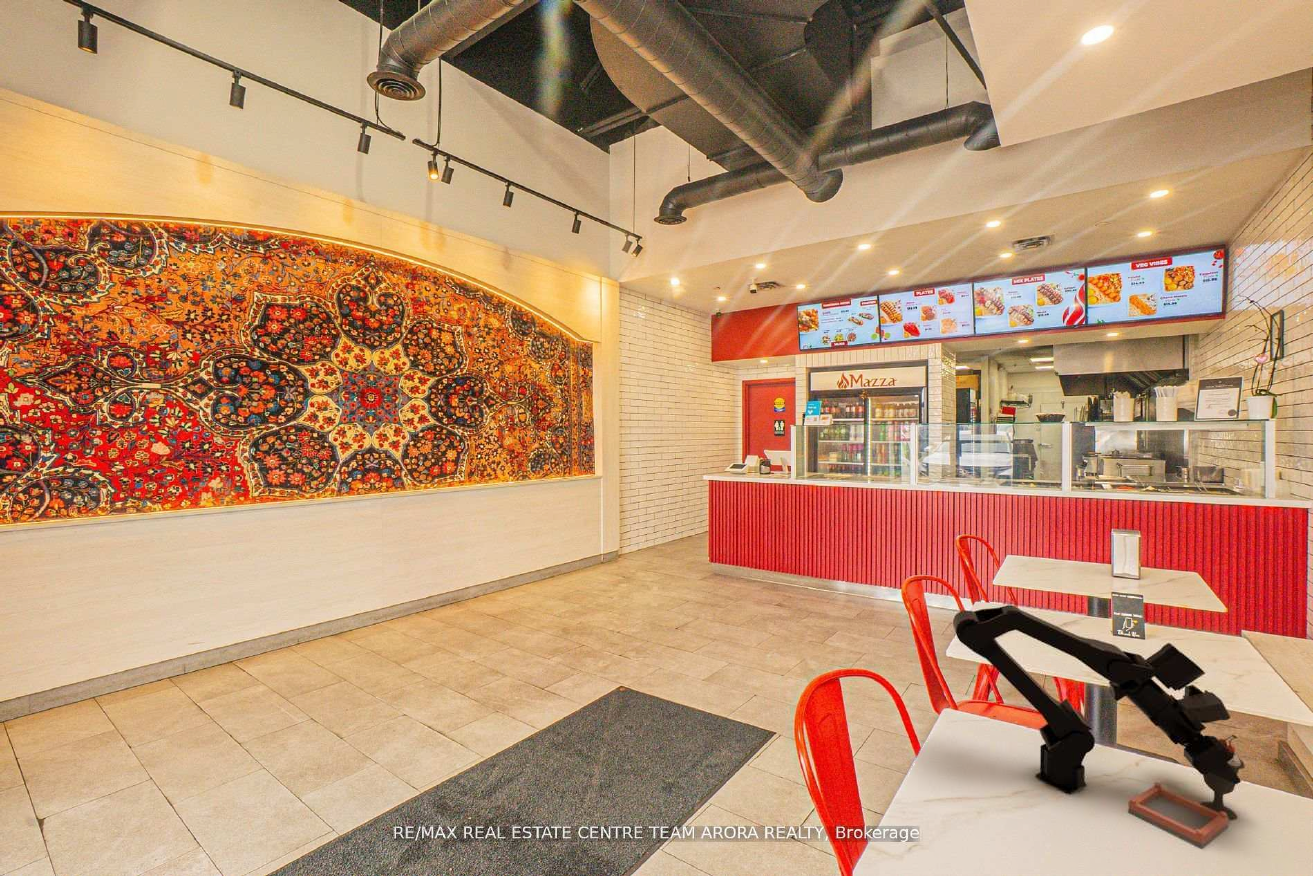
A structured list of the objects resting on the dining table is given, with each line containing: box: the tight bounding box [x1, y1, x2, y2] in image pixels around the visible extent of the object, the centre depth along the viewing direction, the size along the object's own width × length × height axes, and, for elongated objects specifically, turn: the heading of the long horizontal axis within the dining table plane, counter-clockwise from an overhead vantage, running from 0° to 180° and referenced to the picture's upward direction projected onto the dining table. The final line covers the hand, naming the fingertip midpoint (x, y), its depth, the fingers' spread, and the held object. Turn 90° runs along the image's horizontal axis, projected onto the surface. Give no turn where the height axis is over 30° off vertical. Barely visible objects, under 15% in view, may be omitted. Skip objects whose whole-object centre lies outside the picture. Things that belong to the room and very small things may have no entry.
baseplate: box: [1128, 781, 1229, 849], centre depth 107 cm, size 11×11×3 cm
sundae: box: [1198, 734, 1246, 820], centre depth 109 cm, size 7×7×15 cm
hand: (1228, 772), depth 109 cm, fingers closed on sundae, 6 cm apart
